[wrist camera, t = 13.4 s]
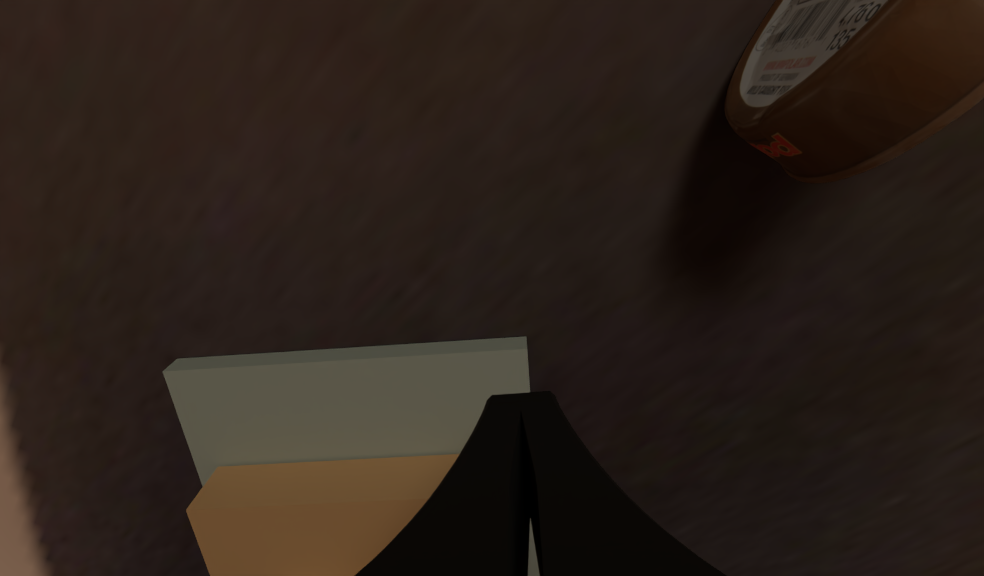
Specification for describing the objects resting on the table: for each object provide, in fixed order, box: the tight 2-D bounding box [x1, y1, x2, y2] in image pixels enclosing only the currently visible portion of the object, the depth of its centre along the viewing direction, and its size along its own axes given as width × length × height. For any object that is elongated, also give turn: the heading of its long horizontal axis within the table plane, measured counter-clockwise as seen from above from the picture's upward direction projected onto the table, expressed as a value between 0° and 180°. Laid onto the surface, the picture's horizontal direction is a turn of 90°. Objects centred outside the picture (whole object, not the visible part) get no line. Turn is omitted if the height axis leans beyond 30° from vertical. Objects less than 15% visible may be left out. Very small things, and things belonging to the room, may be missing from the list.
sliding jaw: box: [186, 454, 459, 576], centre depth 22 cm, size 4×12×2 cm, turn 95°
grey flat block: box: [163, 337, 540, 576], centre depth 23 cm, size 16×14×4 cm
